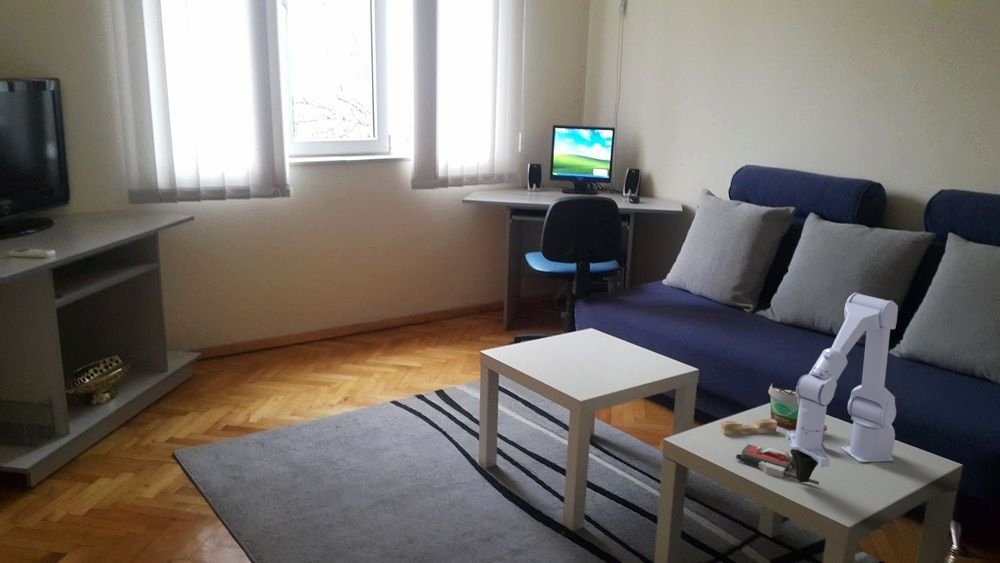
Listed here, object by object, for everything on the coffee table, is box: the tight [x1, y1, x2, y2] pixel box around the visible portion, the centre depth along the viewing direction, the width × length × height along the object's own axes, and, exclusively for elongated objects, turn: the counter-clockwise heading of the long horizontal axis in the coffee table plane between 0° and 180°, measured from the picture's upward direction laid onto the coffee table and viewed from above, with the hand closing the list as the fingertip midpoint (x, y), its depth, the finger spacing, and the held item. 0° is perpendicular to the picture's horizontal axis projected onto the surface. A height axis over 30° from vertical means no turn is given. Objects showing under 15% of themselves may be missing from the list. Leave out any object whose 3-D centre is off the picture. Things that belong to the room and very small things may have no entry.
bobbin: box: [821, 424, 828, 450], centre depth 198 cm, size 4×4×6 cm
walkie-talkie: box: [735, 443, 820, 486], centre depth 186 cm, size 9×4×20 cm
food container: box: [768, 383, 799, 430], centre depth 210 cm, size 12×6×10 cm, turn 55°
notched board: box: [719, 418, 778, 436], centre depth 206 cm, size 15×2×3 cm, turn 100°
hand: (802, 480), depth 178 cm, fingers closed
